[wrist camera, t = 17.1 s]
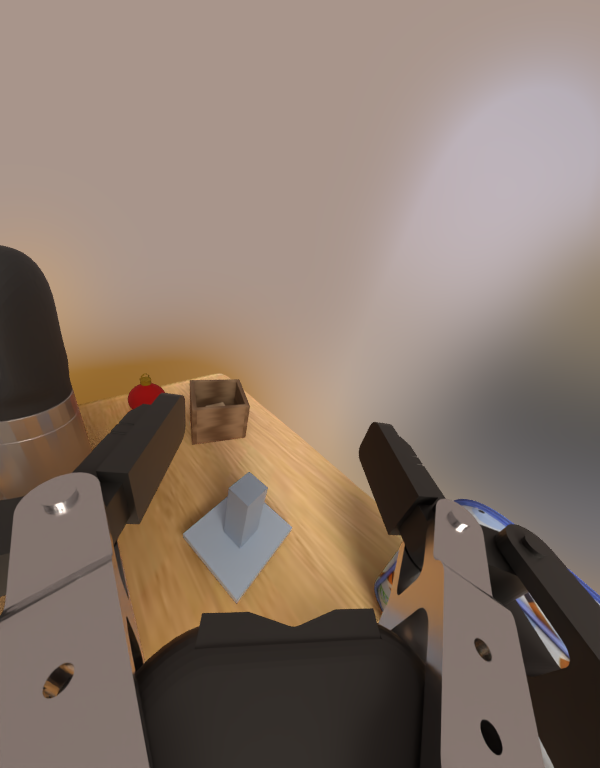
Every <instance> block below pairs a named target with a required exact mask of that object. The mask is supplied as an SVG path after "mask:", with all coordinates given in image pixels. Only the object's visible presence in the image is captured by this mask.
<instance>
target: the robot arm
mask: <svg viewBox="0 0 600 768" xmlns="http://www.w3.org/2000/svg"><path fill="white" fill-rule="evenodd" d="M184 433H185V398H184V396H183V395H176V394H168V393H161V394H159V396H158V397H157V398H156V399H155V400H154V402H153V403H152V404H151V405H149V404H142V405H140V406H138V407H137V408H135V409H133V410H131V411H129V412H128V413H127V414H126V415H125V416H124V417H123V419H122V420H121V421H120V422H119V424H117V425H116V426H115V427H114V428H113V429H112V430H111V433H109V434H108V435H107V436H106V437H105V438H104V439H103V440H102V441H101V442H100V443H99V444H98V445H97V446H96V447H95V449H94V450H93V451H92V449H91V446H90V443H89V439H88V436H87V433H86V430H85V427H84V423H83V420H82V417H81V414H80V411H79V407H78V404H77V401H76V398H75V395H74V392H73V389H72V385H71V382H70V378H69V369H68V359H67V355H66V351H65V347H64V343H63V340H62V335H61V331H60V326H59V321H58V316H57V312H56V307H55V303H54V299H53V295H52V292H51V290H50V287H49V284H48V282H47V280H46V278H45V276H44V274H43V272H42V271H41V270H40V268H39V267H38V265H37V264H36V263H35V262H34V261H33V260H32V259H31V258H29V257H28V256H27V255H25V254H24V253H22V252H20V251H18V250H16V249H13V248H9V247H6V246H1V245H0V597H1V596H4V595H6V601H5V607H4V610H3V612H2V614H1V615H0V768H545V766H544V761H543V756H542V751H541V747H540V742H539V739H540V741H541V743H542V745H543V747H544V749H545V751H546V753H547V755H548V757H549V759H550V761H551V763H552V764H553V766H554V768H600V605H599V604H598V603H597V602H596V600H595V599H594V598H593V597H592V596H591V595H590V594H589V592H588V591H587V590H586V589H585V588H584V587H583V586H582V584H581V583H580V582H579V581H578V580H577V579H576V577H575V576H574V575H573V574H572V573H571V572H570V571H569V569H568V568H567V567H566V566H565V565H564V564H563V563H562V561H561V560H560V559H559V558H558V557H557V556H556V555H555V553H554V552H553V551H552V550H551V549H550V548H549V547H548V546H547V545H546V544H545V543H544V542H543V541H542V540H541V539H540V538H539V537H537V536H536V535H535V534H533V533H532V532H530V531H529V530H527V529H525V528H523V527H521V526H519V525H515V524H509V525H507V526H506V527H505V528H504V529H503V530H501V531H500V532H499V531H497V530H494V529H491V528H489V527H486V526H483V525H481V524H479V523H478V521H477V520H476V519H475V517H474V516H473V515H472V514H471V513H470V512H469V511H468V510H467V509H465V508H464V507H463V506H461V505H460V504H458V503H456V502H454V501H452V500H449V499H446V498H445V497H444V496H443V494H442V492H441V491H440V490H439V488H438V487H437V485H436V484H435V482H434V481H433V479H432V478H431V476H430V475H429V473H428V472H427V470H426V469H425V467H424V466H422V463H421V461H420V460H419V458H417V455H416V454H415V452H414V451H413V449H412V448H411V446H410V445H409V444H408V443H407V442H406V441H404V440H403V439H402V438H401V437H399V435H398V434H397V432H396V431H395V429H394V428H393V426H392V425H390V424H385V423H378V422H373V423H372V424H371V425H370V427H369V429H368V431H367V433H366V435H365V437H364V439H363V441H362V443H361V445H360V448H359V459H360V462H361V464H362V467H363V470H364V472H365V475H366V477H367V480H368V483H369V485H370V488H371V490H372V493H373V496H374V498H375V501H376V503H377V506H378V509H379V511H380V514H381V516H382V519H383V522H384V524H385V527H386V529H387V532H388V535H401V536H402V539H403V542H402V543H401V545H400V548H399V553H398V558H397V563H396V568H395V573H394V578H393V583H392V588H391V593H390V597H389V600H388V603H387V605H386V607H385V609H384V611H383V613H382V615H381V618H380V621H379V624H378V623H377V622H376V618H375V614H374V610H373V609H338V610H333V611H331V612H329V613H327V614H324V615H322V616H320V617H318V618H315V619H313V620H311V621H309V622H306V623H304V624H302V625H299V626H296V627H291V626H288V625H285V624H282V623H279V622H276V621H273V620H270V619H267V618H265V617H262V616H259V615H256V614H253V613H250V612H233V613H202V617H201V622H200V626H199V627H196V628H194V629H191V630H189V631H187V632H185V633H183V634H181V635H180V636H178V637H176V638H175V639H173V640H172V641H170V642H169V643H167V644H166V645H165V646H163V647H162V648H161V649H160V650H158V651H157V652H156V653H155V654H154V655H153V656H152V657H150V658H149V659H148V660H147V661H146V662H145V660H144V655H143V651H142V646H141V641H140V637H139V632H138V628H137V624H136V620H135V616H134V612H133V608H132V604H131V599H130V595H129V590H128V585H127V580H126V576H125V571H124V566H123V561H122V557H121V552H120V547H119V542H118V537H119V535H120V533H121V532H122V530H123V528H124V526H125V525H126V524H140V522H141V520H142V518H143V516H144V514H145V512H146V510H147V508H148V506H149V504H150V502H151V500H152V498H153V496H154V495H155V493H156V491H157V489H158V487H159V485H160V483H161V481H162V479H163V477H164V475H165V473H166V471H167V469H168V467H169V465H170V463H171V461H172V459H173V457H174V455H175V453H176V451H177V450H178V448H179V446H180V444H181V442H182V439H183V437H184ZM528 592H529V593H530V595H531V596H532V598H533V599H534V601H535V602H536V604H537V605H538V606H539V608H540V609H541V611H542V612H543V614H544V615H545V617H546V618H547V619H548V621H549V622H550V624H551V625H552V627H553V628H554V630H555V631H556V632H557V634H558V635H559V637H560V638H561V640H562V641H563V643H564V644H565V646H566V648H567V651H568V654H569V658H570V662H569V665H568V666H567V667H566V668H562V669H561V668H560V667H559V666H558V664H557V663H556V662H555V660H554V659H553V657H552V655H551V654H550V652H549V651H548V649H547V648H546V646H545V645H544V643H543V641H542V640H541V638H540V637H539V635H538V634H537V632H536V631H535V629H534V627H533V626H532V624H531V623H530V621H529V620H528V618H527V616H526V615H525V613H524V612H523V610H522V609H521V607H520V606H519V604H518V602H517V601H516V599H518V598H519V597H521V596H523V595H525V594H526V593H528Z"/></svg>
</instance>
